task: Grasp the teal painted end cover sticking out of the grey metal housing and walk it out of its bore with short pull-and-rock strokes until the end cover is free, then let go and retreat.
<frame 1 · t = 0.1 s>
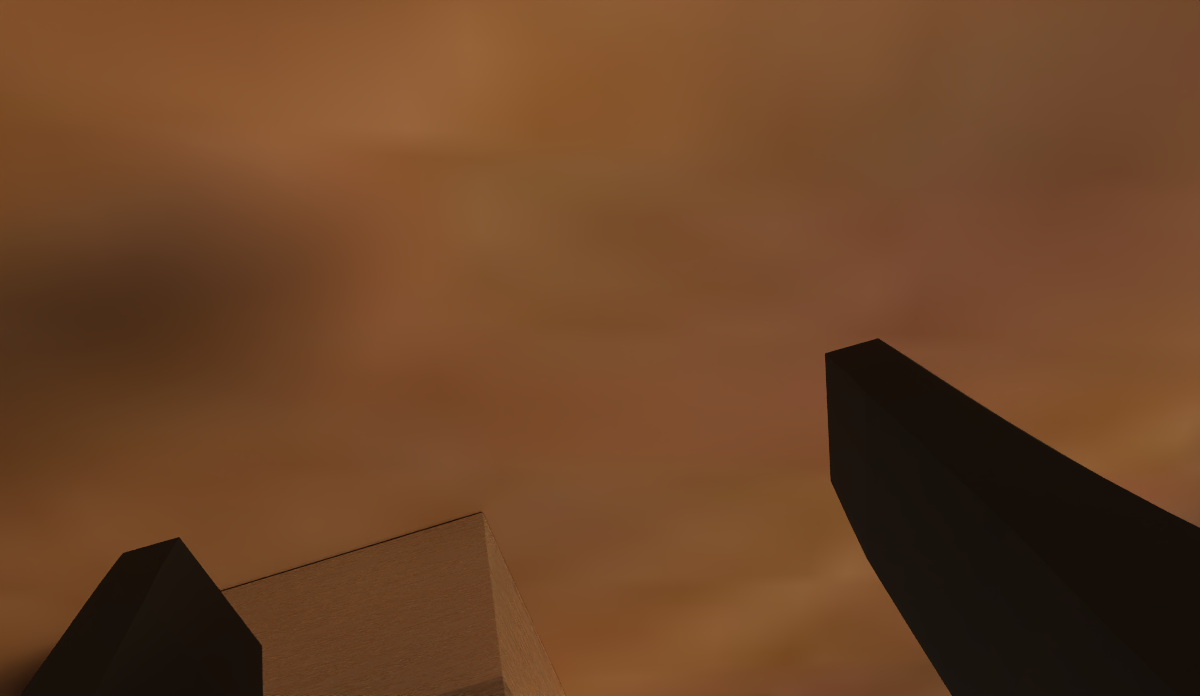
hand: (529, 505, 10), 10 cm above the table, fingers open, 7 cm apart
housing: (380, 673, 27), on the table
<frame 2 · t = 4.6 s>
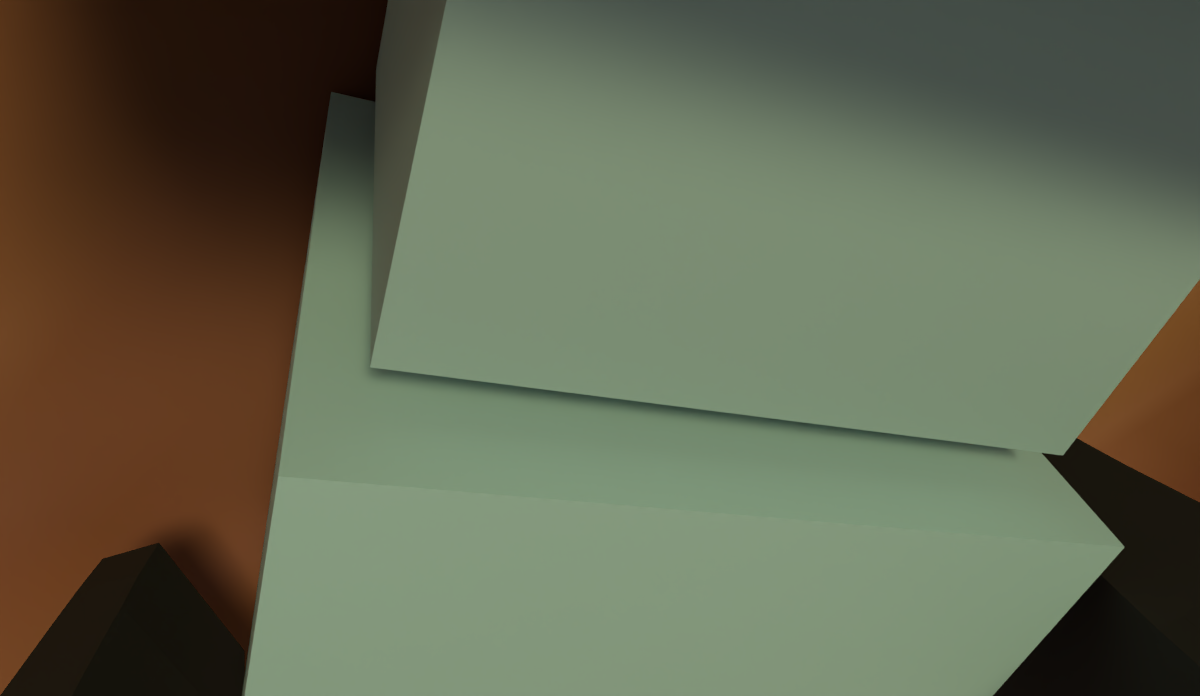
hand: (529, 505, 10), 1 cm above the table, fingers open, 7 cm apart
end cover: (643, 329, 7), point 3 cm above the table, slide at 3.0 cm, touching gripper
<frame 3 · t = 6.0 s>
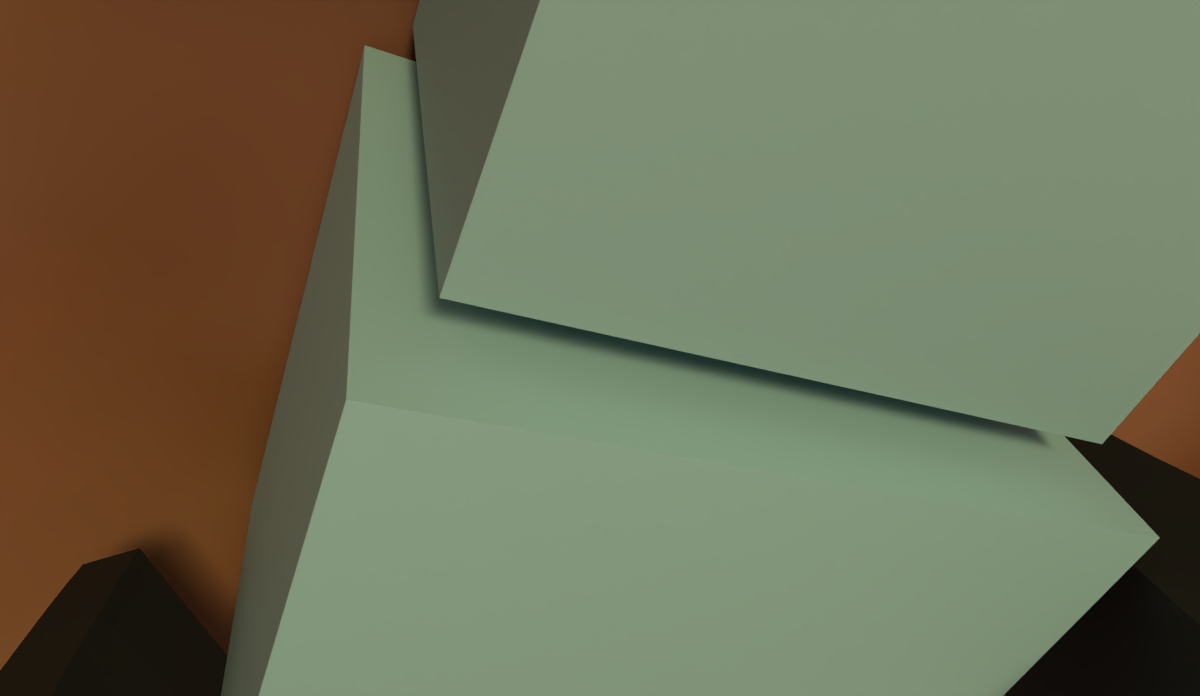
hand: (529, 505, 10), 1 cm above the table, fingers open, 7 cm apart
end cover: (677, 302, 7), point 3 cm above the table, slide at 6.4 cm, touching gripper
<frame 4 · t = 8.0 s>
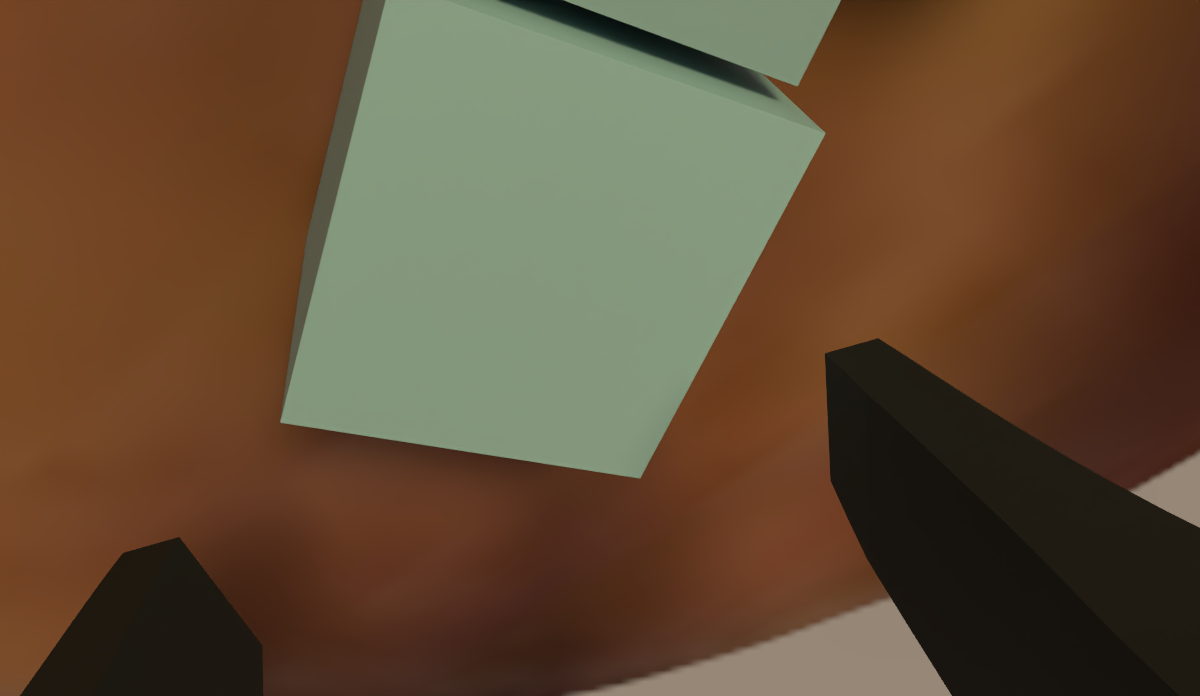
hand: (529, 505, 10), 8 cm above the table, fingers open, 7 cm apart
end cover: (574, 37, 12), point 3 cm above the table, slide at 6.0 cm
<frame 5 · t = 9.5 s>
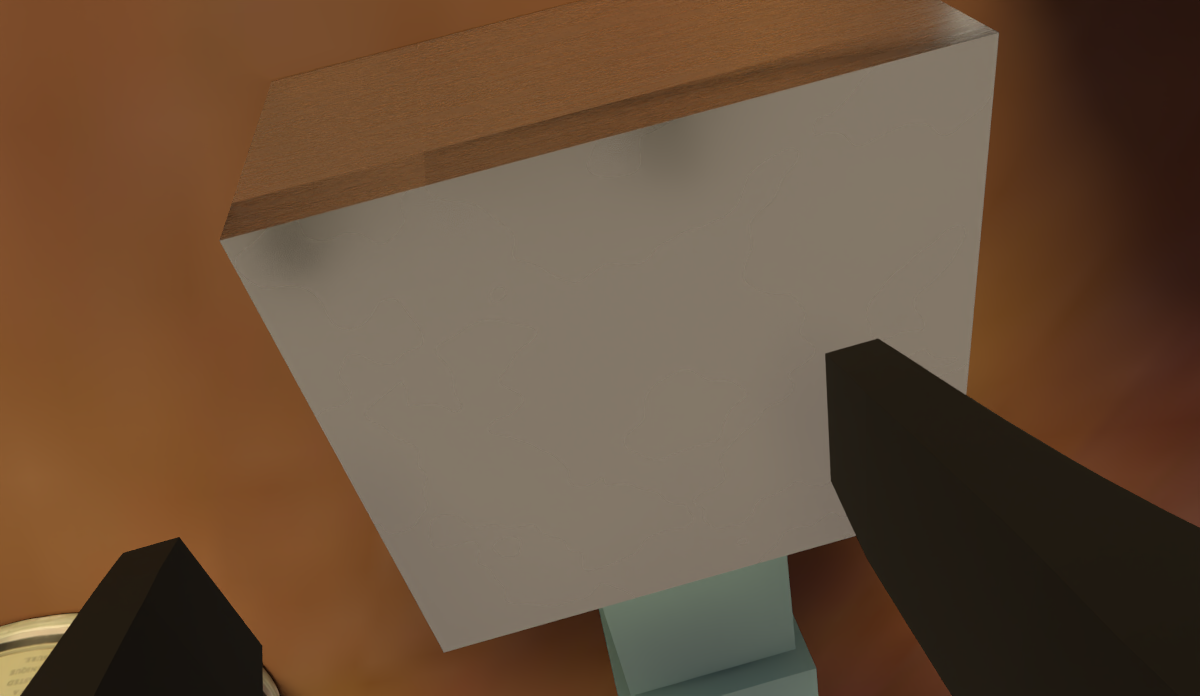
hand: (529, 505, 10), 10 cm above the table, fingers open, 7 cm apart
end cover: (696, 625, 25), point 3 cm above the table, slide at 6.0 cm
housing: (600, 229, 20), on the table
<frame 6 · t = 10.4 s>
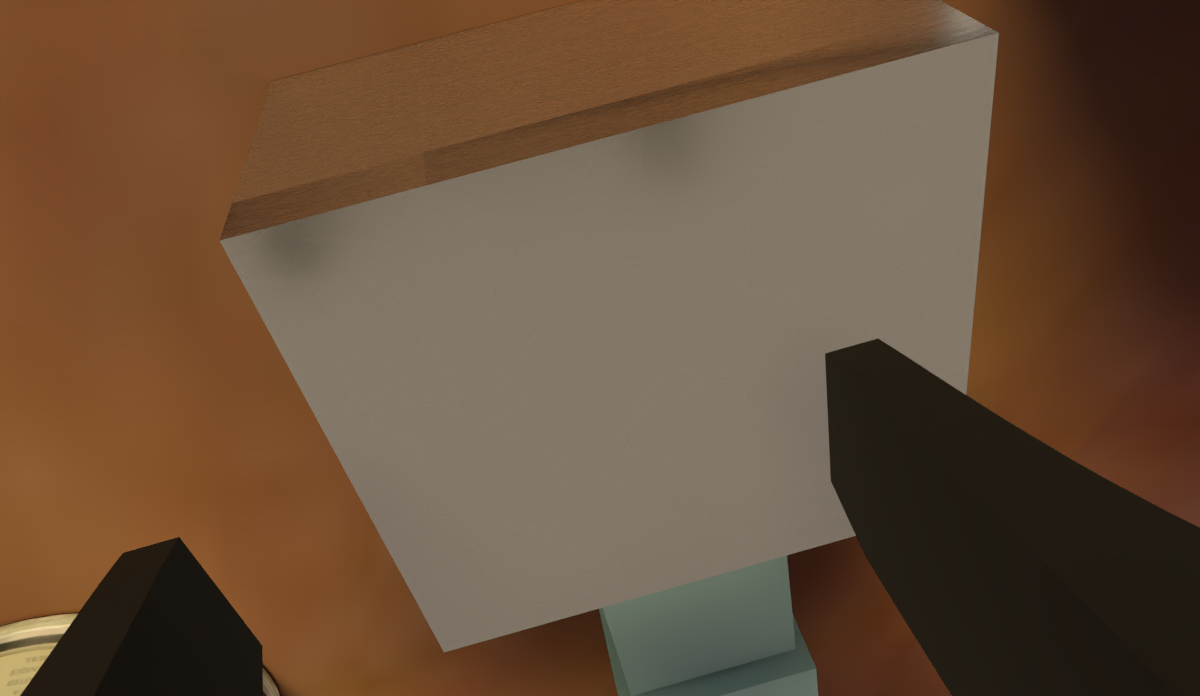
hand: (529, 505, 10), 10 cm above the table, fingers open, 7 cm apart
end cover: (696, 625, 25), point 3 cm above the table, slide at 6.0 cm
housing: (600, 229, 20), on the table
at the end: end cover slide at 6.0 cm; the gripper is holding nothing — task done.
